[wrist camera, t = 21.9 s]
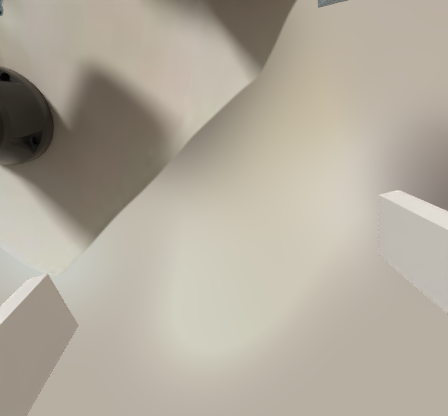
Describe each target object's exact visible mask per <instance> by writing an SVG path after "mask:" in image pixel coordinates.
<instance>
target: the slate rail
mask: <svg viewBox="0 0 448 416" xmlns="http://www.w3.org/2000/svg"><path fill="white" fill-rule="evenodd" d="M342 1H346V0H318V7H323V6H326V5H330V4H334V3H338V2H342Z"/></svg>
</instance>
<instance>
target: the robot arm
mask: <svg viewBox="0 0 448 416" xmlns="http://www.w3.org/2000/svg"><path fill="white" fill-rule="evenodd" d="M2 2H3V0H0V16H2V15H3V7H2ZM52 135H53V120H52V115H51V112H50V109H49V107H48V104H47V102H46V101H45V99H44V97H43V96H42V94H41V93H40V92H39V90H38V89H37V88H36V87H35V86H34V85H33V84H32V83H31V82H30V81H29V80H27V79H26V78H25V77H23V76H22V75H20V74H18V73H17V72H15V71H12V70H10V69H7V68H4V67H0V164H2V165H15V164H21V163H25V162H28V161H31V160H34V159H36V158H38V157H39V156H40V155H42V154H43V153H44V152H45V151H46V149H47V148H48V146H49V144H50V142H51V139H52ZM379 256H380V257H381V258H383V259H384V260H385V261H386V262H387V263H389V264H390V265H391V266H392V267H393V268H394V269H396V270H397V271H398V272H399V273H400V274H402V275H403V276H404V277H405V278H406V279H407V280H408V281H410V282H411V283H412V284H413V285H414V286H415V287H417V288H418V289H419V290H420V291H421V292H422V293H424V294H425V295H426V296H427V297H428V298H430V299H431V300H432V301H433V302H434V303H435V304H437V305H438V306H439V307H440V308H441V309H442V310H444V311H445V312H446V313H447V314H448V211H446V210H443V209H441V208H439V207H437V206H434V205H432V204H430V203H427V202H425V201H423V200H420V199H418V198H416V197H413V196H411V195H409V194H407V193H404V192H402V191H400V190H397V191H393V192H388V193H384V194H380V195H379ZM77 327H78V324H77V322H76V320H75V319H74V317H73V315H72V314H71V312H70V310H69V309H68V307H67V305H66V304H65V303H64V300H63V299H62V297H61V295H60V294H59V292H58V290H57V289H56V287H55V285H54V284H53V282H52V280H51V279H50V277H49V275H48V274H45V275H41V276H37V277H33V278H29V279H28V280H27V281H26V282H25V283H24V284H23V285H22V286H21V287H20V288H19V289H18V290H17V291H16V292H14V293H13V294H12V295H11V297H10V298H8V299H7V301H5V302H4V303H3V304H2V305H1V306H0V416H27V414H28V412H29V411H30V409H31V407H32V405H33V404H34V402H35V400H36V399H37V397H38V395H39V393H40V392H41V390H42V388H43V386H44V385H45V383H46V381H47V379H48V378H49V376H50V374H51V372H52V371H53V369H54V367H55V365H56V364H57V362H58V360H59V358H60V357H61V355H62V353H63V352H64V350H65V348H66V346H67V345H68V343H69V341H70V339H71V338H72V336H73V334H74V332H75V331H76V329H77Z"/></svg>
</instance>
